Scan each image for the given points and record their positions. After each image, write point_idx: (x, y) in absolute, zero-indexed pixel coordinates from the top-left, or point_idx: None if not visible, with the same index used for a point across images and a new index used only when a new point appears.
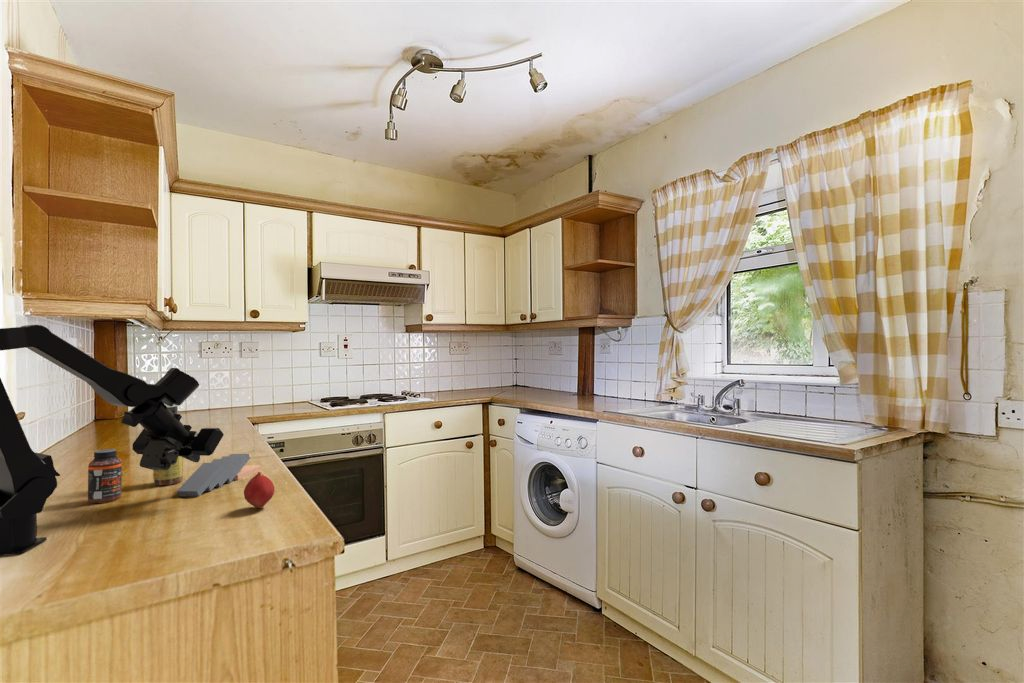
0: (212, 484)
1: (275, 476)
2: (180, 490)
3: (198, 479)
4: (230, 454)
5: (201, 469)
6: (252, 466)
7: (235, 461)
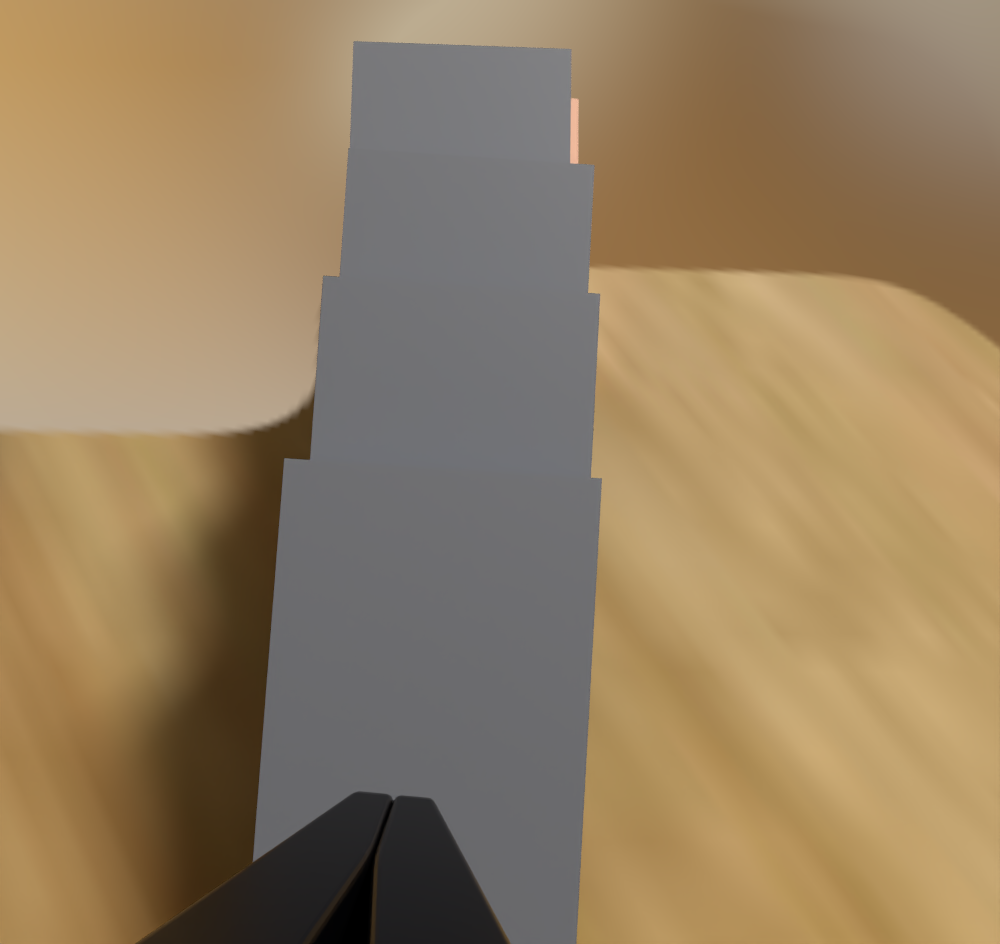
0: None
1: (840, 293)
2: None
3: None
4: (357, 52)
5: (341, 622)
6: None
7: (574, 261)
